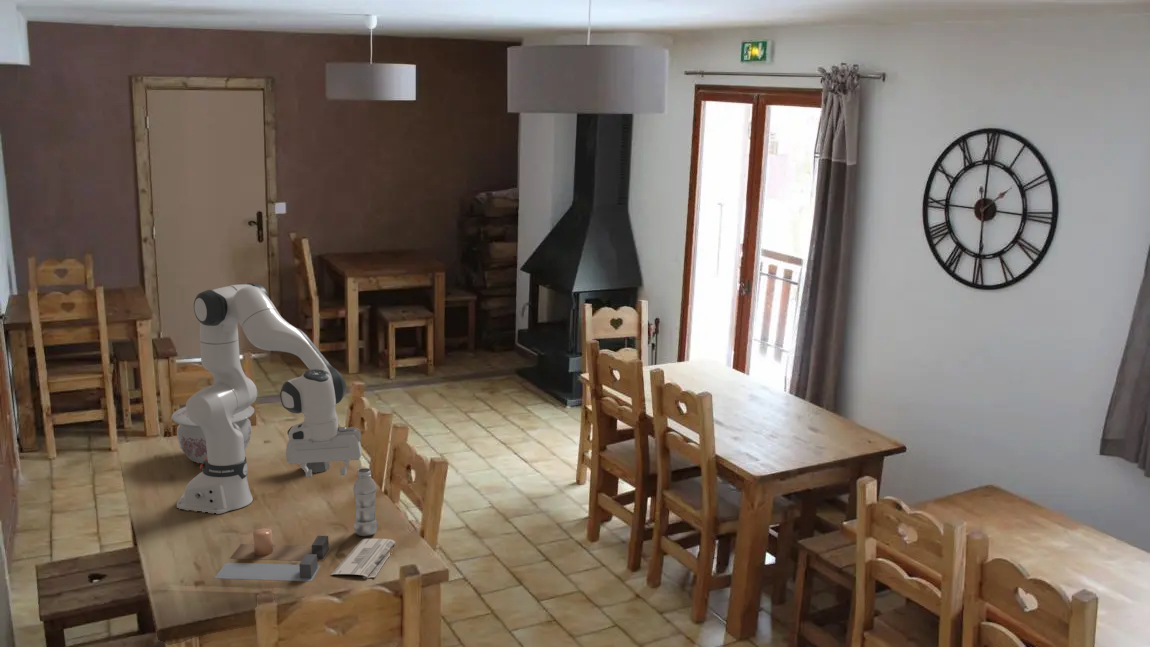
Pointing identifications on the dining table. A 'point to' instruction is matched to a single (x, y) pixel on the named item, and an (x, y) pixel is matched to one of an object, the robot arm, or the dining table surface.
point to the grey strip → (272, 570)
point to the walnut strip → (286, 551)
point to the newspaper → (366, 558)
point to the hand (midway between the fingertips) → (326, 475)
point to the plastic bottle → (365, 503)
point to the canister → (263, 542)
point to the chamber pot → (194, 438)
